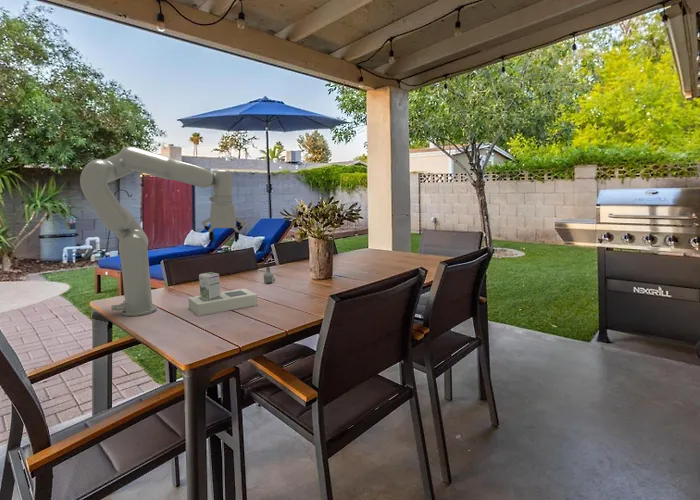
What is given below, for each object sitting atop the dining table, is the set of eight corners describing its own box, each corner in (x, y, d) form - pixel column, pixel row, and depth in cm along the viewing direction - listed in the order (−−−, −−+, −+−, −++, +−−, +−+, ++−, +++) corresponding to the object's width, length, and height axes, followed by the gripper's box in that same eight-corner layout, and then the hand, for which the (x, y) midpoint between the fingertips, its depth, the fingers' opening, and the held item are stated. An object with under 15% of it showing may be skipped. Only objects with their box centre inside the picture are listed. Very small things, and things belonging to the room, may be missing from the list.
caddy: (198, 316, 158) (197, 304, 157) (188, 308, 168) (188, 296, 168) (257, 305, 172) (256, 294, 171) (245, 298, 182) (244, 288, 182)
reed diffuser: (269, 285, 207) (268, 245, 203) (256, 284, 208) (255, 245, 205) (277, 280, 216) (276, 242, 213) (265, 280, 218) (263, 242, 215)
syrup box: (221, 308, 168) (220, 273, 166) (210, 311, 163) (207, 275, 161) (212, 306, 171) (210, 271, 169) (200, 309, 166) (198, 274, 164)
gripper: (199, 200, 165) (201, 243, 168) (243, 200, 168) (244, 242, 171) (202, 200, 173) (204, 240, 175) (245, 200, 175) (246, 240, 178)
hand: (224, 241), depth 173 cm, fingers open, 9 cm apart
